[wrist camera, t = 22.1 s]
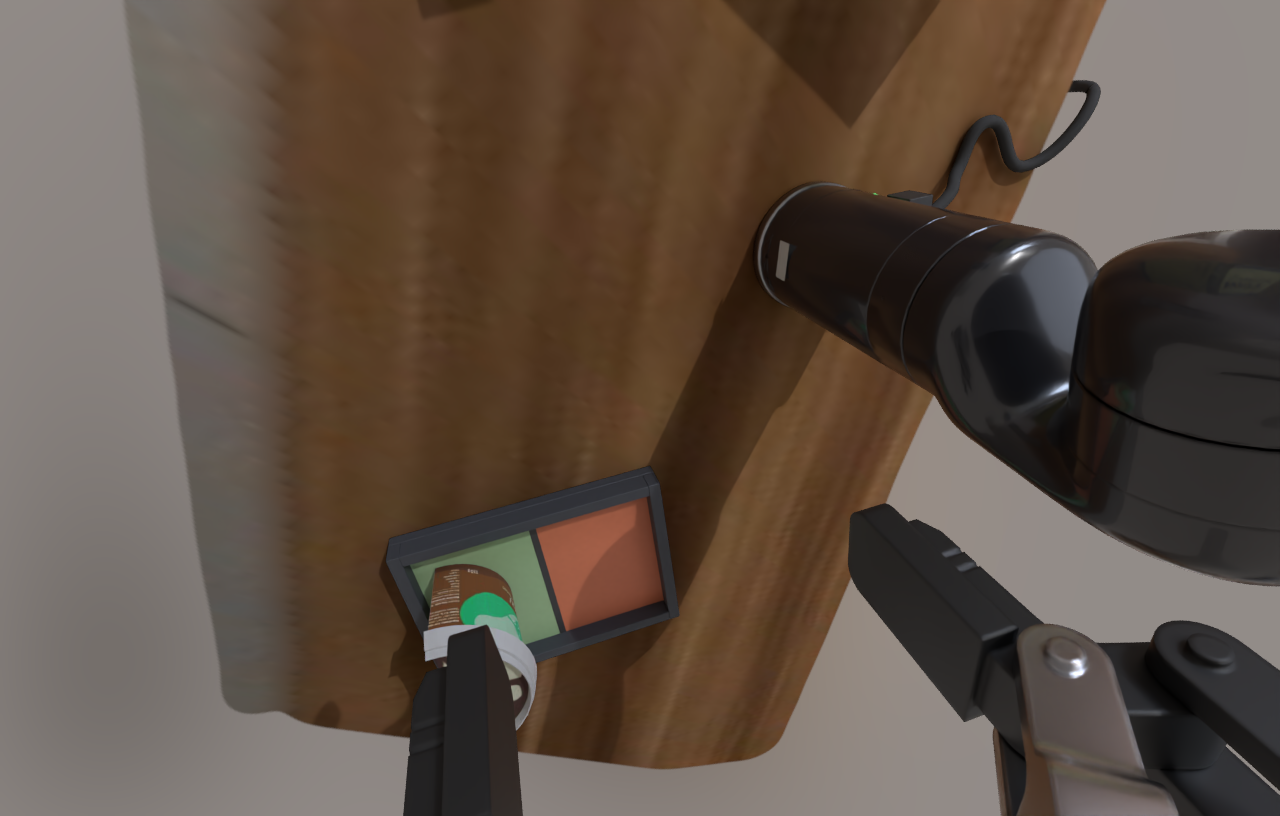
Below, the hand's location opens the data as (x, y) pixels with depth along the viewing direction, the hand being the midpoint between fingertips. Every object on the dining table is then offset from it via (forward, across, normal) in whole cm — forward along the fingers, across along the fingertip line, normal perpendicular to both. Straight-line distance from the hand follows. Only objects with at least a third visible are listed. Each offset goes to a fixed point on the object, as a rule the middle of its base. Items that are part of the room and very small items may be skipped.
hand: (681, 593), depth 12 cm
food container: (+31, +10, +27) cm, 43 cm away
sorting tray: (+32, +5, +28) cm, 43 cm away
